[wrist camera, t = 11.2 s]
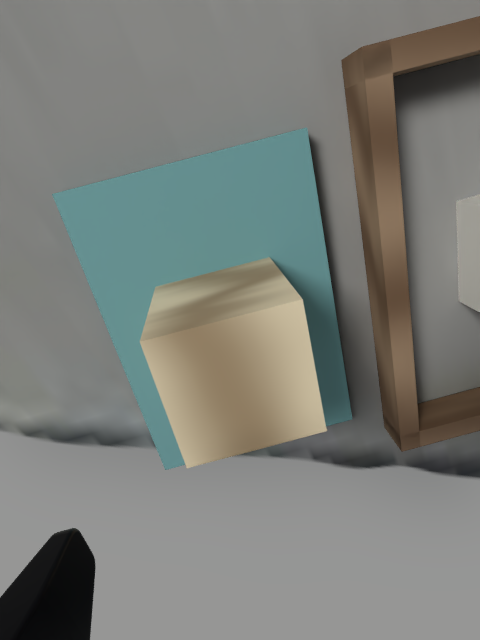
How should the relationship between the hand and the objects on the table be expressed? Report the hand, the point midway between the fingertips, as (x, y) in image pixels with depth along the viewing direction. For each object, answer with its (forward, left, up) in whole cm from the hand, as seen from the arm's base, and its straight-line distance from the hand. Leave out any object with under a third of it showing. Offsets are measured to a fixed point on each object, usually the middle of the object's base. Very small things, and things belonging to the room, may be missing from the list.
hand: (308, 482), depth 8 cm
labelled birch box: (+1, -1, -11) cm, 11 cm away
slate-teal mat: (+1, -1, -12) cm, 12 cm away
